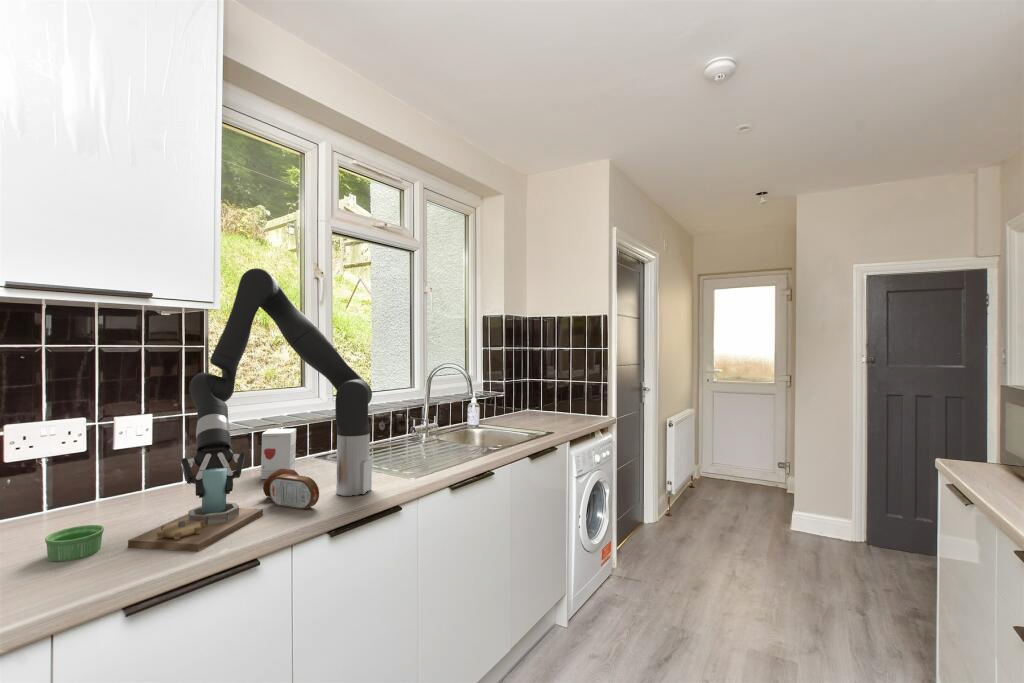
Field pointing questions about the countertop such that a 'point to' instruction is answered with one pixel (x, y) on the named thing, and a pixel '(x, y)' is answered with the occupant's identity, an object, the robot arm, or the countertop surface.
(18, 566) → the countertop surface
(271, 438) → the supplement box
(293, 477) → the tin
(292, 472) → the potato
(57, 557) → the ramekin
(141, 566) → the countertop surface
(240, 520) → the board
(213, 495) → the light blue cylinder
